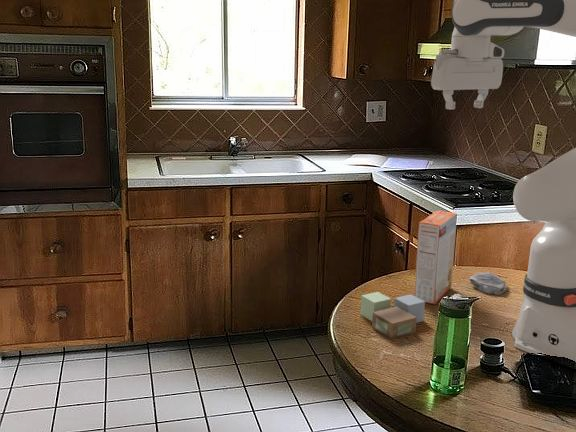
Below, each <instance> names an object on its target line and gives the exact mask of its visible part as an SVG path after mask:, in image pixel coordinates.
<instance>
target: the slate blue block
mask: <svg viewBox="0 0 576 432" xmlns="http://www.w3.org/2000/svg"><path fill="white" fill-rule="evenodd" d="M393 302H394V303H393V307H396V306H397V307H398V308H400V309H402V310H404V311H406V312H408V313H410V314H412V315H413V316H415V317H417V321H416V324H417V323H421V322H424V319H425V318H424V317H425V309H426V308H425V305H426V303H425V301H423V300H421V299H419V298H417V297H415V296H414V294H406V295H401V296H398V297H394V301H393Z"/></svg>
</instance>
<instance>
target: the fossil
mask: <svg viewBox="0 0 576 432" xmlns="http://www.w3.org/2000/svg"><path fill="white" fill-rule="evenodd" d="M468 279H469V282H470V284H471V285H472V286H473V287H475V289H477V290H478V291H479V292H483V293H484V294H487V295H488V294H493V295H501V294H503V293H505V292H506V291H507V289H508V287H507V285H506V280H504V279H502V278H501V277H499V276H498V275H496V274H494V273H492V272H489V271H485V272H484V271H483V272H477V273H475V274H473V275H471V276H470V277H469V278H468Z"/></svg>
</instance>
